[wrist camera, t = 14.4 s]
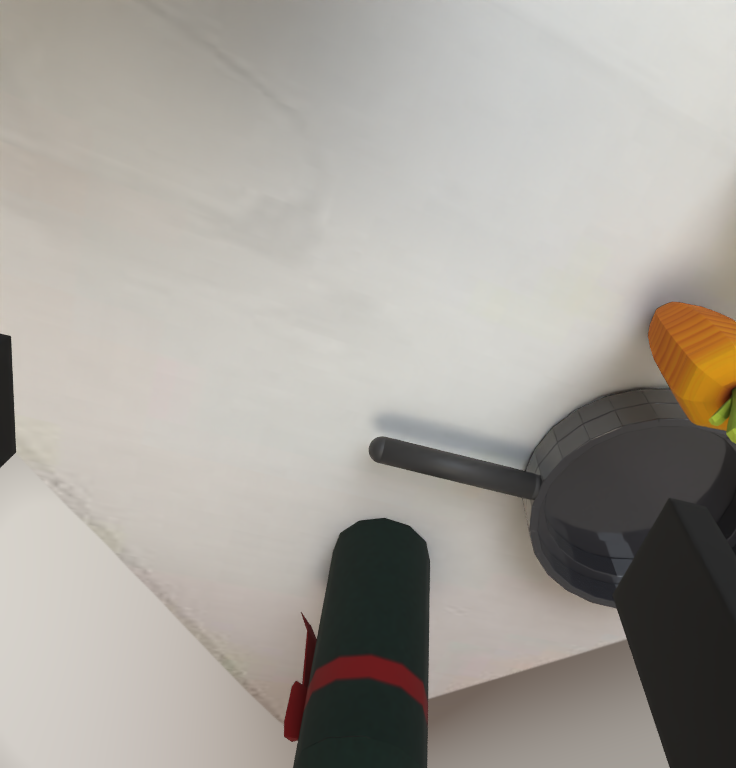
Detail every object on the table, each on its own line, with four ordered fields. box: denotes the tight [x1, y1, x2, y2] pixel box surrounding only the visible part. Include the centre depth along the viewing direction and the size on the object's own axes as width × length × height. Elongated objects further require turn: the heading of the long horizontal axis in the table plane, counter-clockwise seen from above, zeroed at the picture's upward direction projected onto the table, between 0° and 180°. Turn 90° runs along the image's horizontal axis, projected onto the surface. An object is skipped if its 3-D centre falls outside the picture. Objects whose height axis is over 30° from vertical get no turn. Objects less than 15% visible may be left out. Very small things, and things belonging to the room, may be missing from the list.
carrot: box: [648, 302, 736, 444], centre depth 33 cm, size 5×5×15 cm
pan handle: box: [369, 436, 540, 500], centre depth 43 cm, size 2×12×2 cm, turn 77°
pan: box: [522, 389, 736, 608], centre depth 44 cm, size 16×16×4 cm
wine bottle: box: [284, 518, 430, 768], centre depth 39 cm, size 8×10×30 cm
